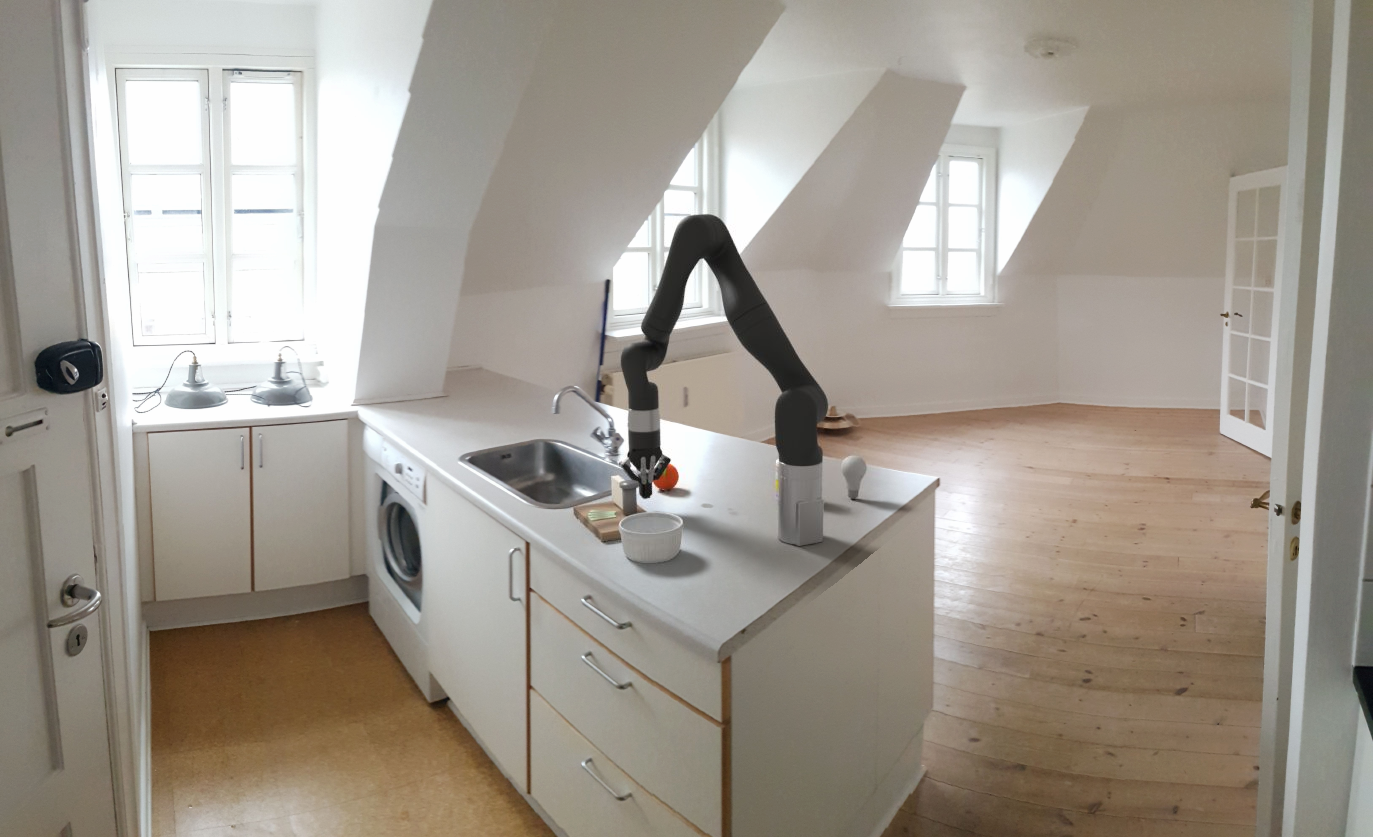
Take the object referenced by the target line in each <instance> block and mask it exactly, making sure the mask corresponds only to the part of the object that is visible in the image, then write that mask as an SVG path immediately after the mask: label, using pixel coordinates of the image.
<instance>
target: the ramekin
mask: <svg viewBox="0 0 1373 837" xmlns="http://www.w3.org/2000/svg"><path fill="white" fill-rule="evenodd" d="M683 530H684V521H683V519H682V518H681V517H680V516H677V515H676V514H672V513H669V512H662V511H661V512H660V511H646V513H638V514H634V515H630V516H628V517H626V518H624V519H622V520H621V521H620V523H619V532H620V533H621V539H620V541H621V546H622V550H623V552H624V555H625V556H626V557H627V558H628V559H629V560H631V561H633V562H636V561H637V562H636V563H641V564H658V562H660V563H664V561H665V562H668V561H670V560H672V559H674V558H675V557H677V555H678V554H679V552H680V549H681V546H682V545H681V544H682V538H683V536H682V535H683Z"/></svg>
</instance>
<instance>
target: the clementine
mask: <svg viewBox="0 0 1373 837" xmlns="http://www.w3.org/2000/svg"><path fill="white" fill-rule="evenodd" d="M655 468H656V466H655ZM679 477H680V476H679V472H678V469H677V468H676V467H675V465H673V464H671V463H669V465H668V466H667V468H666V469H665V471H664V472H663V474H662V475H661V477H660V478H659V479H658V480H654V481H653V482H652V484H653V485H654V486H655V487H656V488H657V489H659V490H662V491H669V490H672V489H673V488H675V487H676V486H677V484H678V482H679Z"/></svg>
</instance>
